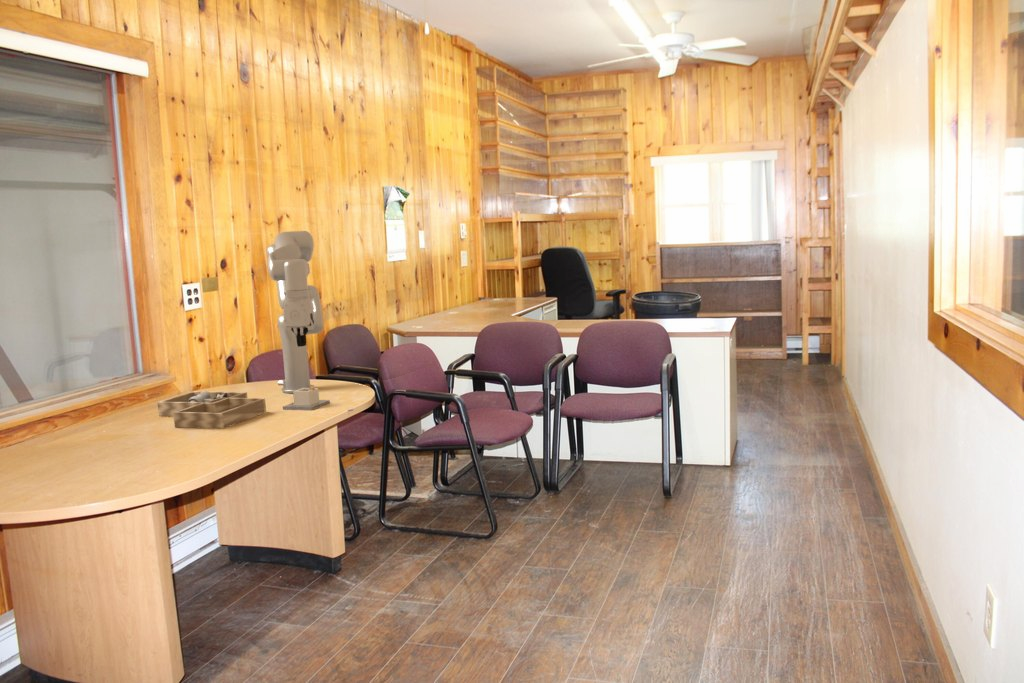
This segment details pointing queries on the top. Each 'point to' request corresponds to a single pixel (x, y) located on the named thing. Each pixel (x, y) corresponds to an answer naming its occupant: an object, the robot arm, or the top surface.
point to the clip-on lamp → (205, 397)
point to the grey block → (306, 396)
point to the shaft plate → (306, 407)
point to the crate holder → (182, 403)
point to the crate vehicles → (237, 413)
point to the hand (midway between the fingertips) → (301, 345)
